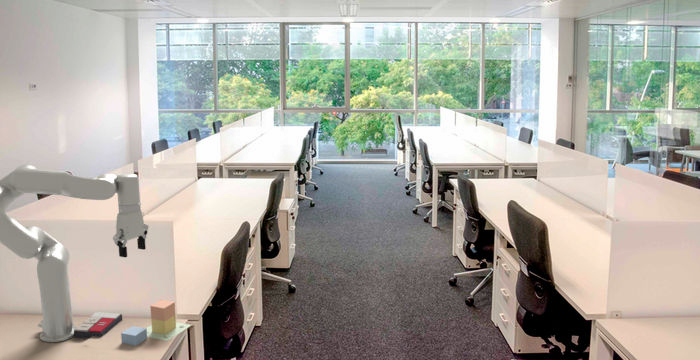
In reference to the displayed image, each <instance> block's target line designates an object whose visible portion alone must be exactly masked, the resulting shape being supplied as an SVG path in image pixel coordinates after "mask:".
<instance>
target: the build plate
mask: <svg viewBox="0 0 700 360" xmlns="http://www.w3.org/2000/svg"><path fill="white" fill-rule="evenodd" d="M189 327H192V324H188V323H183V322H178V321H176V328H175V329H173V330H172V331H170V332H168V333H167V334H161V333H157V332H152V324H150V325H148V326H147V327H146V329H147V338H151V339H155V340H160V341H166V342H168V341H170V340H171V339H173V338H174V337H176V336H178V335H179V334H181V333H182V332H184V331H185V330H186V329H188V328H189Z"/></svg>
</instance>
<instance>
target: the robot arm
mask: <svg viewBox="0 0 700 360" xmlns="http://www.w3.org/2000/svg"><path fill="white" fill-rule="evenodd" d="M116 193H117V202H118V203H117V205H118V213H117V215H116V222H115V229H116V230H115V231H116V233H115V235H113V237H112V240H113V242H114V244H115V245H116V247H118V257H120V258H127V257H128V247H127V246H126V245H127V244H128V241H131V240H134V239H136V238H137V240H136V241H137V250H138V249H139V250H147V249H146V248H147V247H146V239H147V234H148V230H149V225H148V224H145V222H144V215H143V212H142V209H141V205H142V204H141V194H140V179H139V176H138V175H137V174H135V173H124V174H123V173H122V174H111V173H104V174H100V175H98V176H97V177H96V178H89V177H88V178H87V177H81V176H76V175H74V174H72V173H69V172H68V171H64V170H58V169H57V170H56V169H55V170H53V169H43V168H42V169H39V168H37V167H35V166H33V165H31V164H23V165H20V166H18V167H17V168H15V169H14V170H13V171H12V172H10V173H8V174H7V175H5V176H4V177H3V178H1V179H0V243H1V244H2V245H3V246H5V247H6V248H7V249H9V250H10V251H11V252H13V253H14V254H15V255H16V256H18V257H19V258H22V259H25V260H28V259H29V260H31V259H33V258H35V259H36V260H37V264H36V275H37V279H38V286H39V295H40V303H41V311H42V312H41V313H42V319H41V321H40V323H38V324H37V327H38V328H42V331H41V332H40V334H39V338H40V340H41V341H43V342H45V343H57V342H63V341H66V340H70V339H72V338H73V337H74V330H75V329H76V328H77V327H78V326H76V325H74V320H73V310H72V308H73V307H72V299H71V290H70V281H69V271H68V269H69V268H68V265H69V260H70V253H69V250H68V249H67V248H66V247H65V246H64V245H63V244H62V243H61V242H59V241H58V240H56V239H55V238H54V237H53V236H51V235H50V234H49V233H48V232H46V231H45V230H43V229H42V228H40V227H38V226H35V225H27V226H24V225H22V224H21V223H20V222H18V221H17V220H16V219H14V218H13V217H11V216H9V215H8V214H7V213H6V209H7V208H8V206H10V204H12V203H14V201H16V200H17V199H19V198H20V197H22V196H23V195H24V194H35V195H36V194H37V195H38V194H39V195H52V196H53V195H55V196H63V197H69V198H74V199H80V200H93V201H95V200H96V201H106V200H110V199H112V198H113V197H114V196H115V195H116Z"/></svg>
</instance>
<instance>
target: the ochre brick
mask: <svg viewBox="0 0 700 360" xmlns="http://www.w3.org/2000/svg"><path fill="white" fill-rule="evenodd" d="M150 320H151V321H150V322H151V325H152V332H157V333H161V334H167V333H168V332H170V331H172V330H173V329H175V328H176V322H177V321H176V320H177V318H176V315H175V316H173V317H171V318H170V319H168V320H166V321H160V320H155V319H150Z"/></svg>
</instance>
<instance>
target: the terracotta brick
mask: <svg viewBox="0 0 700 360" xmlns="http://www.w3.org/2000/svg"><path fill="white" fill-rule="evenodd" d="M173 316H175V317H176V303H175V302H174V301H170V300H164V299H160V300H158V301H156V302H155V303H153V304H151V305H150V318H151V319H155V320H160V321H166V320H168V319H170V318H171V317H173ZM151 319H150V320H151Z"/></svg>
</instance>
